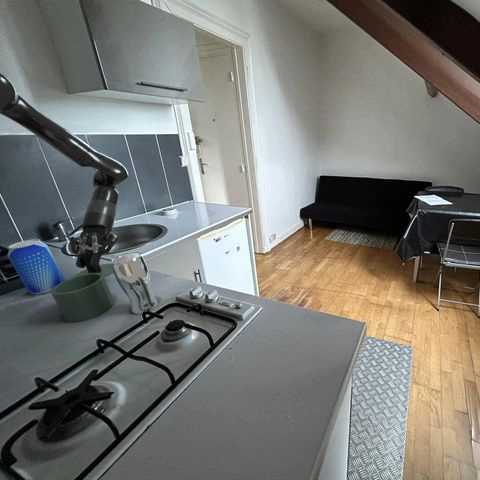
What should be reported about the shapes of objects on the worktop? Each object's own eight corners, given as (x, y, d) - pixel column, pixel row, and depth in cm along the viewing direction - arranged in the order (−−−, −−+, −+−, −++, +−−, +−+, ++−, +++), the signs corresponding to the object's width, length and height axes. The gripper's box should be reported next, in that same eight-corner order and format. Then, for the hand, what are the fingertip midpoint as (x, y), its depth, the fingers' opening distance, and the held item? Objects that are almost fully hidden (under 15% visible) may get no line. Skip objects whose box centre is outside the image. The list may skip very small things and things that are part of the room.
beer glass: (127, 318, 67) (105, 267, 61) (133, 303, 73) (113, 255, 67) (158, 310, 69) (139, 260, 63) (161, 296, 75) (144, 249, 69)
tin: (66, 328, 65) (50, 299, 61) (65, 310, 72) (51, 283, 69) (116, 308, 71) (104, 282, 68) (111, 293, 78) (101, 269, 75)
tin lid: (73, 289, 75) (61, 264, 72) (73, 275, 83) (61, 253, 80) (121, 274, 82) (111, 251, 79) (116, 263, 90) (107, 241, 87)
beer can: (66, 279, 88) (44, 235, 82) (67, 288, 83) (43, 242, 76) (31, 290, 83) (5, 244, 77) (30, 300, 77) (1, 251, 71)
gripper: (68, 212, 82) (51, 265, 75) (113, 209, 82) (100, 261, 76) (88, 223, 89) (74, 272, 82) (129, 220, 89) (119, 268, 82)
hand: (86, 266), depth 79 cm, fingers closed on tin lid, 3 cm apart
